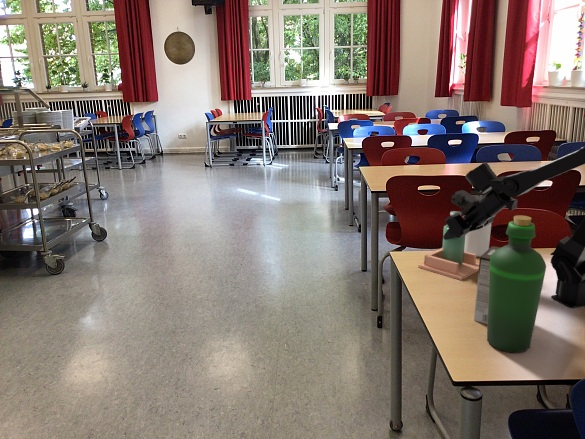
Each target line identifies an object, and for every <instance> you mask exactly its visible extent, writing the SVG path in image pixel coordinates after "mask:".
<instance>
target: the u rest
mask: <svg viewBox="0 0 585 439" xmlns="http://www.w3.org/2000/svg"><path fill="white" fill-rule="evenodd" d="M442 248H443V247H441V248H439V249H437V250H434V251H432V252H429V253H427V254H425V255H424V261H423V262H422V263H420V264H418V268H419V269H423V270H425V271H429V272H432V273H436V274H439V275H443V276H445V277H448V278H452V279H456V280H460V281H463V280H465V279H466V278H468V277H470V276H472V275H473V274H475V273H478V272H479V262H477V256H476V254H473V253H469V252H465V251H464V262H463V263H462V264H459V263H456V262H452V261H448V260H445V259H442Z"/></svg>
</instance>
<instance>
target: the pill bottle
mask: <svg viewBox="0 0 585 439" xmlns="http://www.w3.org/2000/svg"><path fill="white" fill-rule="evenodd" d="M491 230H492V223H491V224H489V225H487V226H484V225H483V228H481V229H478V230H474V231H470V232H468V233H467V234H466V235H465V248H464V251H465V252H469V253H473V254H476V258H477V257H479V258H480V256H481V255H483V254H484V253H485V252H486V251H487V250H488V249H489V248H490V242H491V241H490V240H491Z"/></svg>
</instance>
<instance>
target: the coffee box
mask: <svg viewBox="0 0 585 439" xmlns="http://www.w3.org/2000/svg"><path fill="white" fill-rule="evenodd" d="M499 248H501V247H499V246H495V245H494V246H493V245H491V247H489V249H488V250H487V251H486V252H485V253H484V254H483V255H481V256H480V257H479V262H478V263H479V271H477V273H478V274H477V284H476V294H475V295H476V297H475V306H474V316H473V321H475V322H478V323H482V324H484V325H488V299H489V273H490V256H491V255H492V254H493V253H494V251H495V250H497V249H499Z"/></svg>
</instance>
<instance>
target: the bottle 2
mask: <svg viewBox="0 0 585 439" xmlns="http://www.w3.org/2000/svg"><path fill="white" fill-rule="evenodd" d="M531 221H532V217H530V216H528V215H522V214H521V215H514V216H513V220H512V221H509V222H508V224H507V228H506V230H505V231H506V232H505V235H507V236H508V244H506V245H504V246H502V247H500V248H499V249H497V250H495V251H494V253H493V254H492V255H491V256H490V273H489V299H488V324H486V325H487V328H486V330H487V331H486V333H487V334H486V341H487V343H489V344H490V345H491V346H492V347H494V348H496V349H498V350H501V351H503V352H508V353H520V352H526V351H527V350H528V349H530V348H531V345H532V344H531V343H532V340H533V339H532V338H533V333H534V329H535V324H536V321H537V315H538V309H539V305H540V299H541V294H542V290H543V284H544V280H545V276H546V271H547V270H546V269H547V264H546V262H545V259H544V258H543V256H542V254H541V253H540V252H538V251H537V250H535V249H534V248H533V247H531V245H532V241H533V239H534V238H536V237H537V236H536V226H535V223H532V222H531Z"/></svg>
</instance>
